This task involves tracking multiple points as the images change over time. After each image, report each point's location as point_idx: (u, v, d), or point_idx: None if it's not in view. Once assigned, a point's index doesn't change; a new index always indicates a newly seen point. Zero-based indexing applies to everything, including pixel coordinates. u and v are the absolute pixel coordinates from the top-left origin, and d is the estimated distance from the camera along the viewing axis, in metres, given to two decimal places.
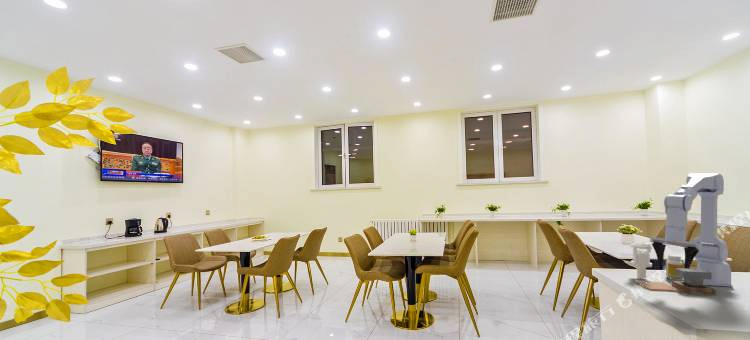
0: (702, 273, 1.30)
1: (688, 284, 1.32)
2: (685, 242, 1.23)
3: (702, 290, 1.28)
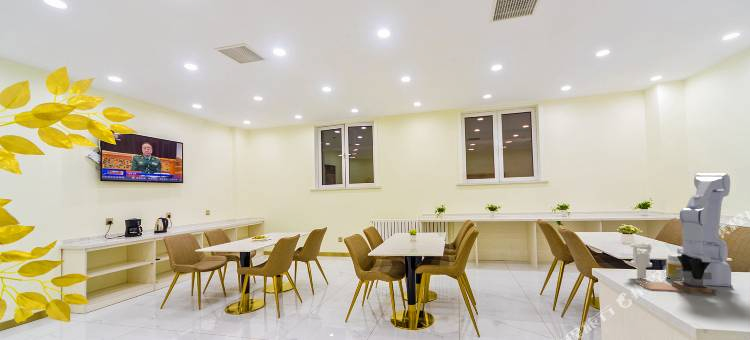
0: None
1: (688, 284, 1.32)
2: (693, 255, 1.29)
3: (702, 290, 1.28)
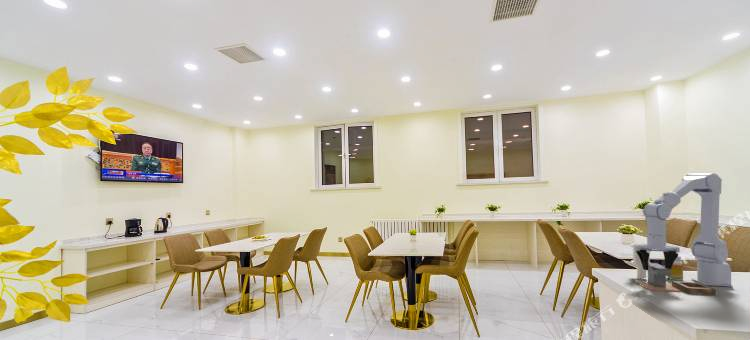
0: (652, 267, 1.35)
1: None
2: None
3: (702, 290, 1.28)
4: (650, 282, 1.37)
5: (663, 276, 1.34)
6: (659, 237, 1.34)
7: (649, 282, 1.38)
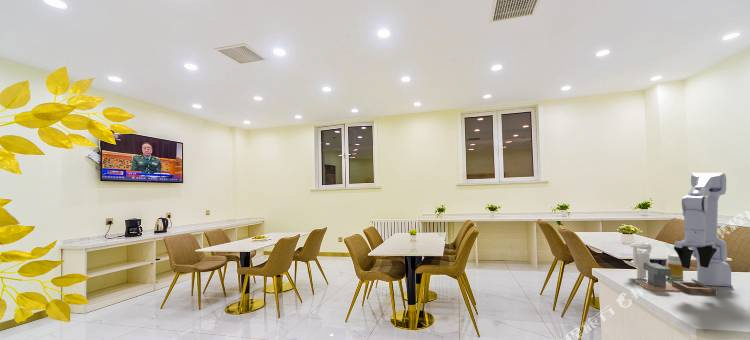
0: (652, 267, 1.35)
1: None
2: None
3: (702, 290, 1.28)
4: (650, 282, 1.37)
5: (663, 276, 1.34)
6: (701, 232, 1.25)
7: (649, 282, 1.38)
